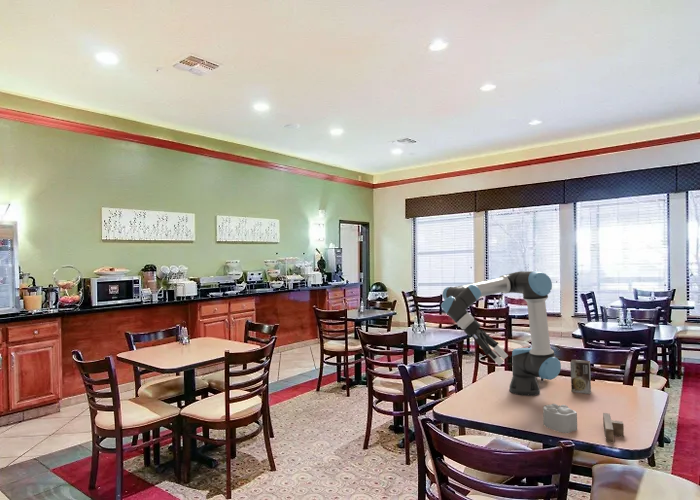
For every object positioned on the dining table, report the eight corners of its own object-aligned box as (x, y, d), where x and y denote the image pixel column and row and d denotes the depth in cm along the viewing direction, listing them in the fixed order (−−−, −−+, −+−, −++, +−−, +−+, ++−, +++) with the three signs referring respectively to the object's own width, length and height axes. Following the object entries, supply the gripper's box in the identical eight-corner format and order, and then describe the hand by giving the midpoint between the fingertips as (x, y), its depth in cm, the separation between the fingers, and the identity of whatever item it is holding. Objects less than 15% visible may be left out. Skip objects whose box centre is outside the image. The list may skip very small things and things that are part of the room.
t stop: (606, 441, 172) (605, 428, 172) (603, 424, 190) (603, 412, 190) (625, 444, 169) (625, 431, 169) (621, 427, 187) (620, 415, 187)
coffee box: (591, 391, 239) (590, 360, 239) (590, 394, 233) (589, 363, 234) (572, 388, 243) (571, 359, 244) (570, 391, 238) (570, 361, 238)
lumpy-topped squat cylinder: (564, 434, 180) (563, 412, 180) (537, 424, 192) (536, 403, 192) (580, 429, 185) (580, 408, 185) (553, 420, 197) (552, 400, 197)
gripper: (469, 326, 219) (501, 360, 211) (457, 334, 196) (493, 372, 189) (479, 316, 216) (513, 350, 209) (469, 322, 194) (506, 360, 187)
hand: (504, 360), depth 199 cm, fingers open, 13 cm apart
